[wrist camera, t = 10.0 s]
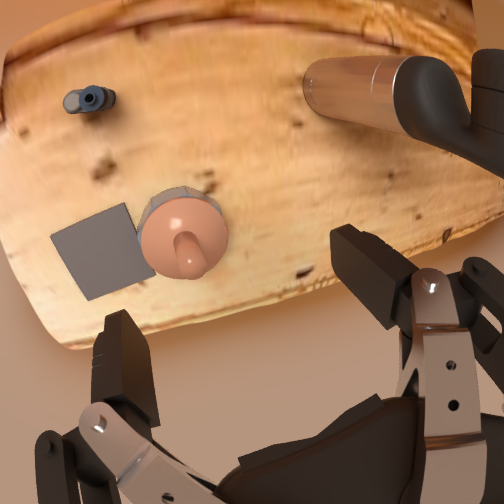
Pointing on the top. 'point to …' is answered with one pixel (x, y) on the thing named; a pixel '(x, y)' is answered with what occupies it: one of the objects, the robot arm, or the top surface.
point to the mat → (103, 252)
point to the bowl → (169, 195)
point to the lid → (184, 238)
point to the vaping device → (89, 100)
